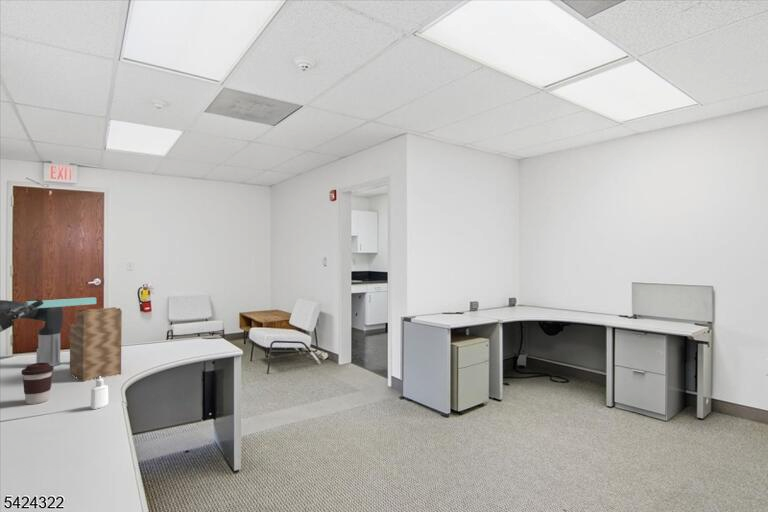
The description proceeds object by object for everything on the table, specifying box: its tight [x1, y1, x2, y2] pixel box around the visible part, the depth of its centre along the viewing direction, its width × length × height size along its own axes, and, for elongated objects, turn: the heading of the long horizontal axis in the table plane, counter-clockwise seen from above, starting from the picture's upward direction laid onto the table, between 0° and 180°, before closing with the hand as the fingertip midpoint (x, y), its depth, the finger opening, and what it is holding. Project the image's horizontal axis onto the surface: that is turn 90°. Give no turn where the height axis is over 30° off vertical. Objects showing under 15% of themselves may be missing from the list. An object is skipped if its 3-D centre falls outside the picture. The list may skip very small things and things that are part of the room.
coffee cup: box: [21, 363, 55, 405], centre depth 165 cm, size 10×10×15 cm
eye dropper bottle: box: [90, 376, 109, 410], centre depth 159 cm, size 4×6×12 cm
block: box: [25, 296, 97, 309], centre depth 192 cm, size 26×4×3 cm, turn 143°
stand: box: [69, 307, 123, 382], centre depth 205 cm, size 16×20×33 cm
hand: (40, 301), depth 185 cm, fingers closed on block, 4 cm apart
